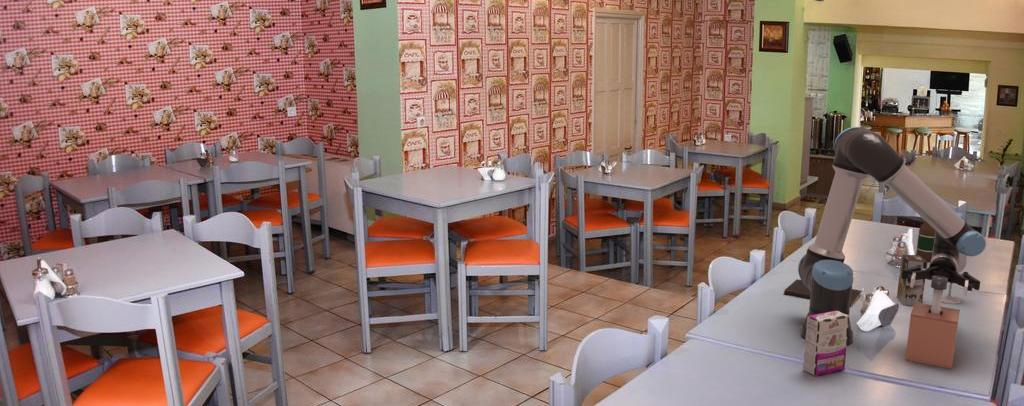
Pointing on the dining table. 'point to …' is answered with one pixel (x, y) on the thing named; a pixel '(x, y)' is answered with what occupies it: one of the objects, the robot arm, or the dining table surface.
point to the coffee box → (904, 290)
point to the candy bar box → (825, 343)
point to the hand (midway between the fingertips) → (938, 287)
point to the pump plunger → (938, 292)
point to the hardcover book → (803, 292)
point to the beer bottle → (925, 241)
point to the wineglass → (949, 299)
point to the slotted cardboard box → (932, 335)
